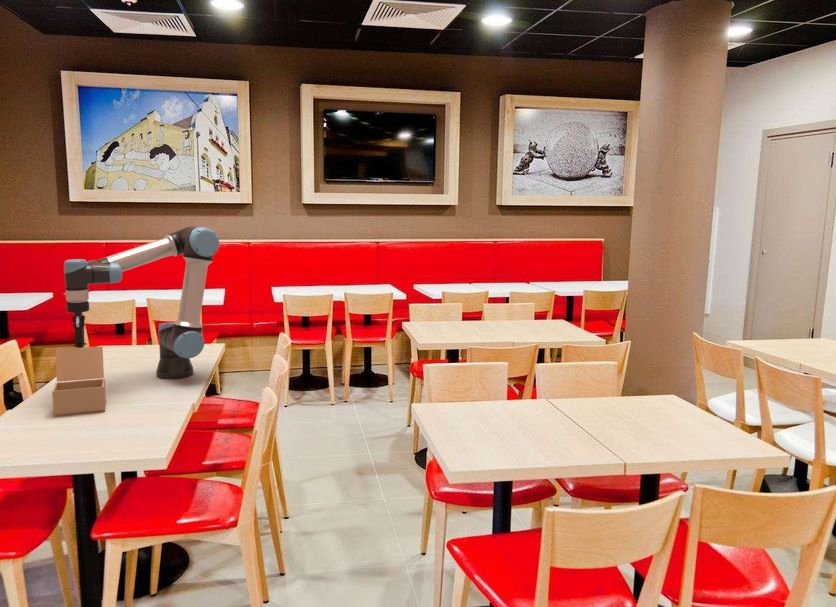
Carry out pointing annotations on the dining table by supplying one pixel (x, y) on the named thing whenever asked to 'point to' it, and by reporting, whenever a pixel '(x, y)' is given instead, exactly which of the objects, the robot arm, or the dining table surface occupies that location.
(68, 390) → the carton
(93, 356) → the lid
